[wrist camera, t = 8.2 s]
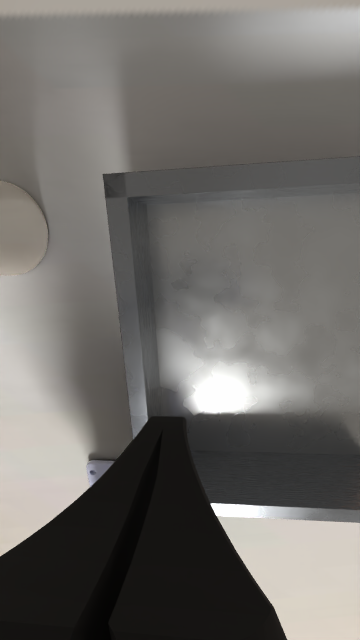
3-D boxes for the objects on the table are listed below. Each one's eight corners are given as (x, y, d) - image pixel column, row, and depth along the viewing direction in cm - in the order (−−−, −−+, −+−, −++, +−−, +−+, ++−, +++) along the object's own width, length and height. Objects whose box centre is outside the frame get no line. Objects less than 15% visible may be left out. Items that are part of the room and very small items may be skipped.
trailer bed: (357, 455, 22) (403, 524, 17) (155, 450, 24) (141, 512, 19) (406, 173, 16) (499, 146, 11) (132, 190, 18) (102, 174, 13)
